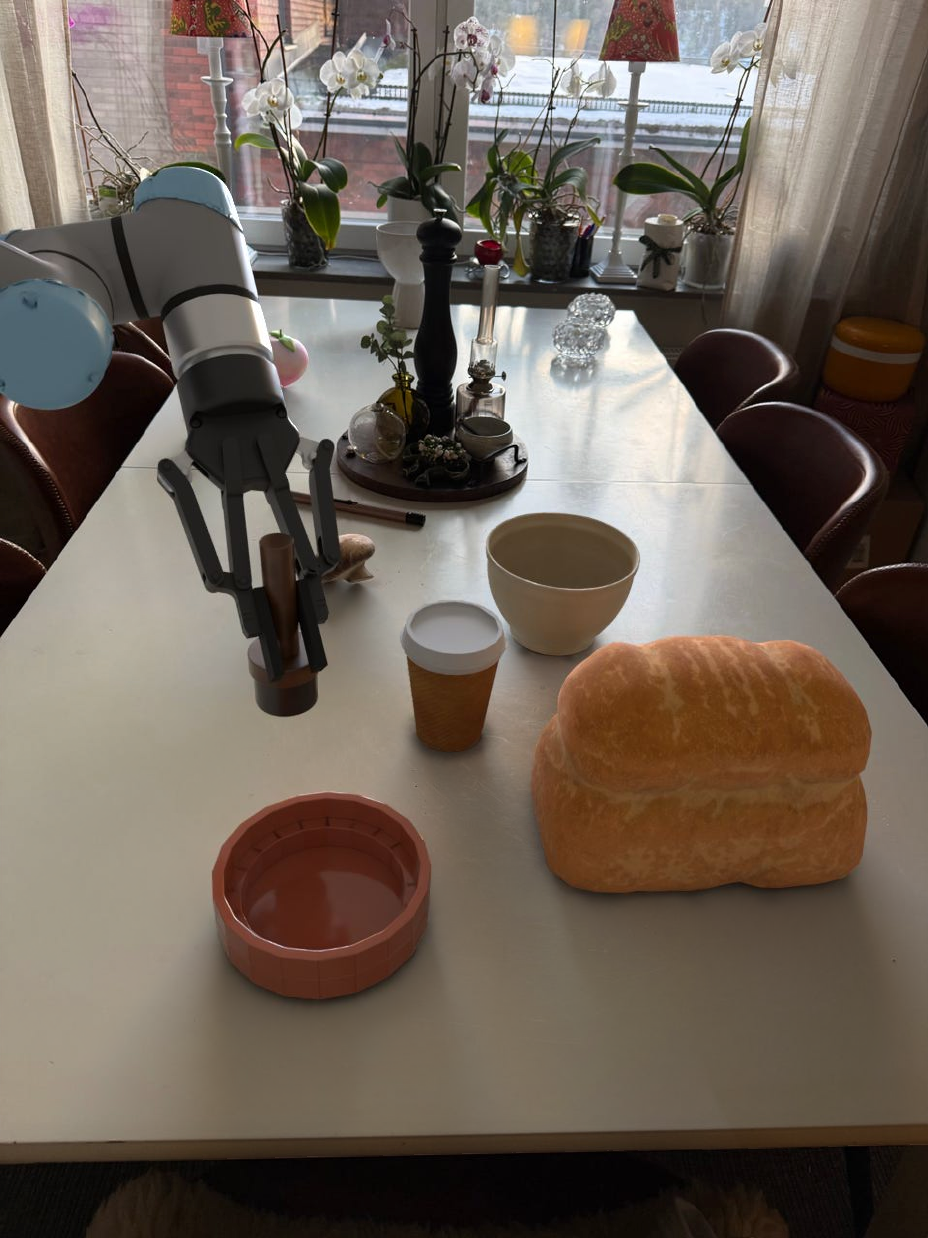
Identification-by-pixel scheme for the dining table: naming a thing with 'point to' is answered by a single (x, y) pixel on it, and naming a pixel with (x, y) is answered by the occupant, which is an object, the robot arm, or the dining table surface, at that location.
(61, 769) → the dining table surface
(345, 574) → the mushroom
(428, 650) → the disposable coffee cup
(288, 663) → the brush
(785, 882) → the bread
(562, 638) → the planter bowl
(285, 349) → the decorative fruit
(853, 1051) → the dining table surface
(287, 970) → the bowl
